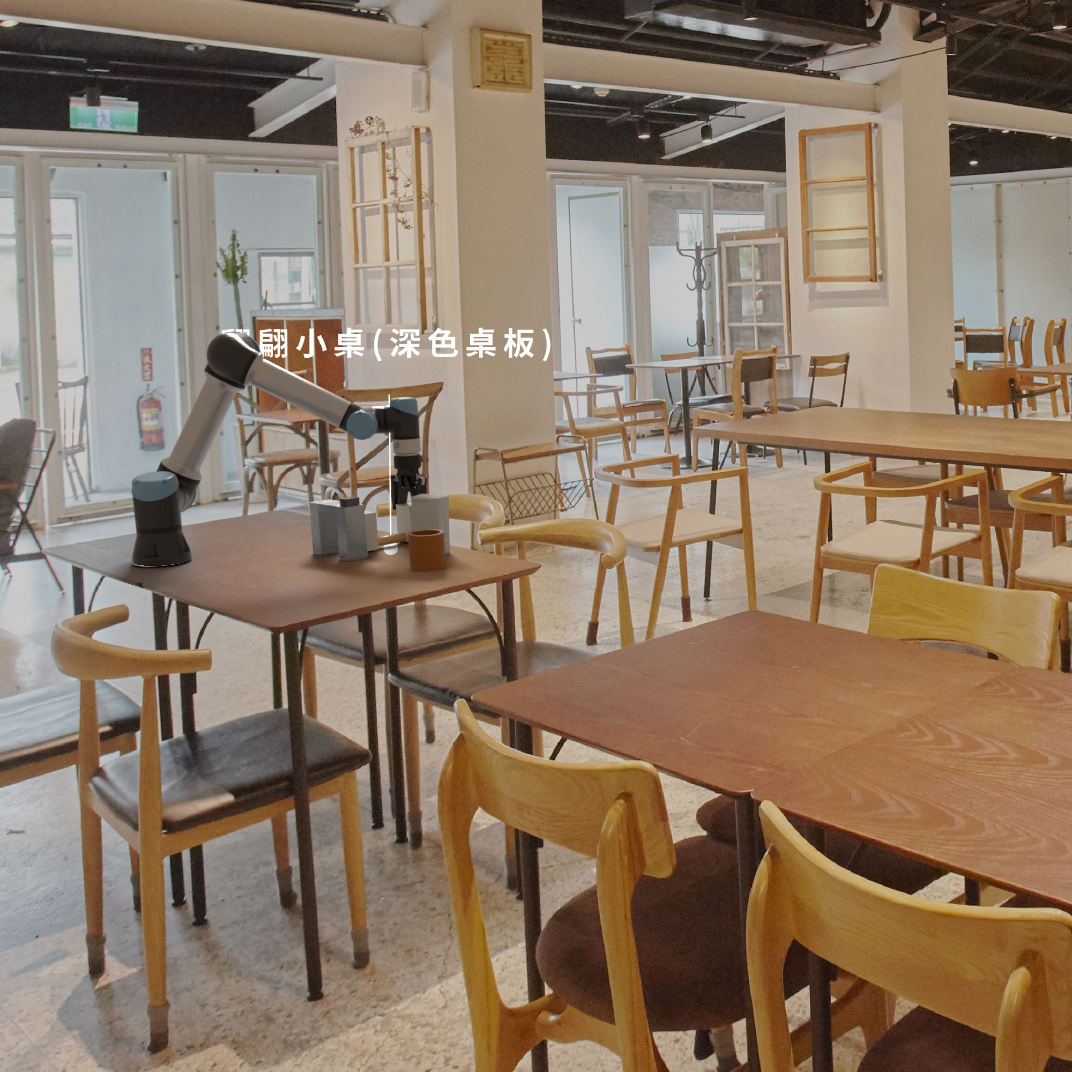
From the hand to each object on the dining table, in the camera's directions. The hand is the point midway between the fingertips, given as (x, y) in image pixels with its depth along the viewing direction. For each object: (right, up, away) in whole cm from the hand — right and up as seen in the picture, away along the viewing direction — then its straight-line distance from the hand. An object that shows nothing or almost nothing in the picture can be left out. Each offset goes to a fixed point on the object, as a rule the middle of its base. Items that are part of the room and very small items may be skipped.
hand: (411, 536), depth 337 cm
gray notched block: (-17, -5, -16) cm, 24 cm away
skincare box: (+7, -5, -19) cm, 21 cm away
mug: (+8, -8, -34) cm, 36 cm away
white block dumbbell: (-6, -2, -5) cm, 8 cm away
